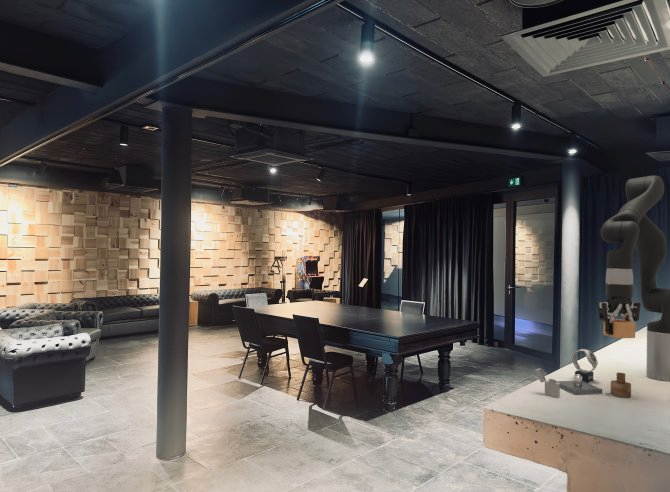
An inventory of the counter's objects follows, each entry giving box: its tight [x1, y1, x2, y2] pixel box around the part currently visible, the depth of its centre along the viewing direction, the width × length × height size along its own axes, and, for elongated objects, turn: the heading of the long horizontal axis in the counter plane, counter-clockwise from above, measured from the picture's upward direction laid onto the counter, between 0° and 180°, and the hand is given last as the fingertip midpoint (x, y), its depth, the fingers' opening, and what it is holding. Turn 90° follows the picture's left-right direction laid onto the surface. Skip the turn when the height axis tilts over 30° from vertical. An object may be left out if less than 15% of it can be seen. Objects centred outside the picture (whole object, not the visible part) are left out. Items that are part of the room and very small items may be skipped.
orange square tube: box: [602, 318, 636, 339], centre depth 148 cm, size 6×6×5 cm
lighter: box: [535, 367, 561, 399], centre depth 146 cm, size 7×2×8 cm, turn 49°
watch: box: [571, 348, 599, 384], centre depth 164 cm, size 6×8×11 cm
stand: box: [610, 372, 632, 399], centre depth 147 cm, size 6×6×7 cm
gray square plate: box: [556, 374, 603, 396], centre depth 153 cm, size 10×10×5 cm
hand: (618, 334), depth 148 cm, fingers closed on orange square tube, 6 cm apart
